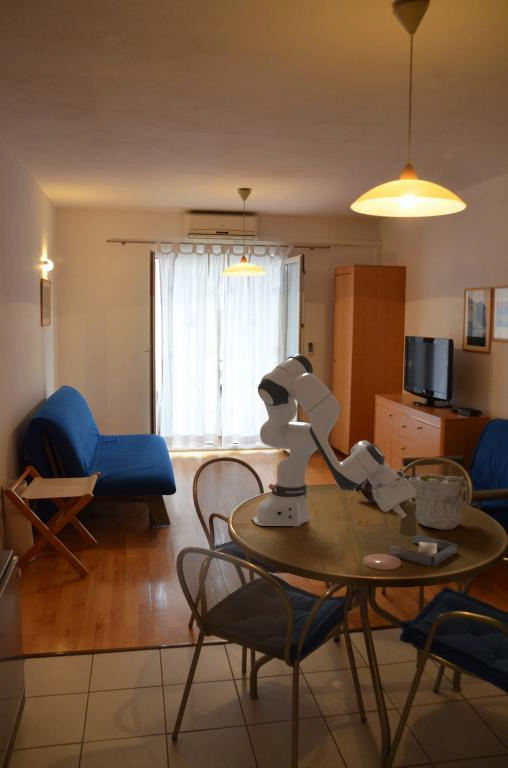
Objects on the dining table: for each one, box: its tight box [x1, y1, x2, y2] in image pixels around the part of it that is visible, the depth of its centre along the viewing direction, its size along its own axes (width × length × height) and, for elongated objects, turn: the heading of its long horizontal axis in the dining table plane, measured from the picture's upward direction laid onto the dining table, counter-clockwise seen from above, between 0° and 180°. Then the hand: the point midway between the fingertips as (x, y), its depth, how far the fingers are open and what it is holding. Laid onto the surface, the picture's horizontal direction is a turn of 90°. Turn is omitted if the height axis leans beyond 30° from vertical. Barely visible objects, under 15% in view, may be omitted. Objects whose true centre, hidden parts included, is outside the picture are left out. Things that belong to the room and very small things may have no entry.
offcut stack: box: [417, 542, 438, 556], centre depth 218 cm, size 6×11×3 cm, turn 164°
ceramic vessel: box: [408, 473, 469, 531], centre depth 252 cm, size 23×24×25 cm
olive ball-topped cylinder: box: [398, 501, 418, 537], centre depth 223 cm, size 6×6×11 cm
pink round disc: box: [362, 553, 402, 571], centre depth 211 cm, size 12×12×1 cm
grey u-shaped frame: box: [388, 534, 458, 568], centre depth 220 cm, size 16×17×3 cm
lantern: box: [355, 478, 416, 508], centre depth 279 cm, size 16×16×25 cm
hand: (410, 514), depth 223 cm, fingers closed on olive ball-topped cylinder, 5 cm apart
